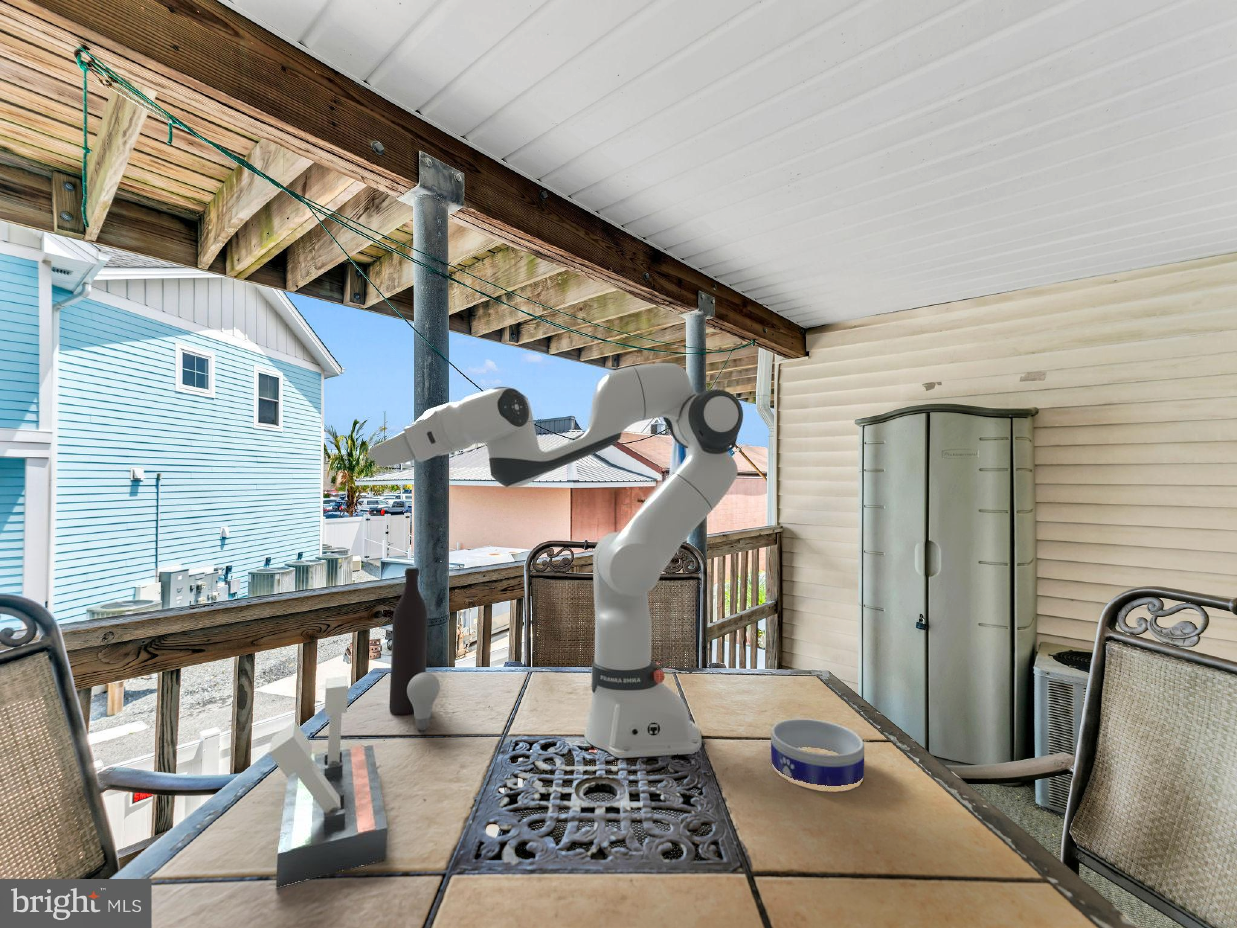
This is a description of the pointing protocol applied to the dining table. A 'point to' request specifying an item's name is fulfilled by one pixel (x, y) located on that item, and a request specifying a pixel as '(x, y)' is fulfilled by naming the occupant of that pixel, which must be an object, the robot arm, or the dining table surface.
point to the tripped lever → (335, 713)
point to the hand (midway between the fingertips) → (387, 447)
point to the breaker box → (333, 820)
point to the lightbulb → (423, 697)
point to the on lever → (303, 766)
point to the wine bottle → (407, 643)
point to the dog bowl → (816, 765)
